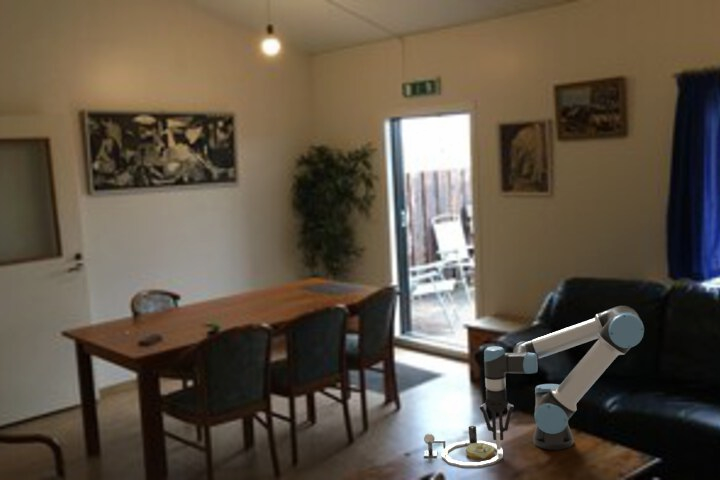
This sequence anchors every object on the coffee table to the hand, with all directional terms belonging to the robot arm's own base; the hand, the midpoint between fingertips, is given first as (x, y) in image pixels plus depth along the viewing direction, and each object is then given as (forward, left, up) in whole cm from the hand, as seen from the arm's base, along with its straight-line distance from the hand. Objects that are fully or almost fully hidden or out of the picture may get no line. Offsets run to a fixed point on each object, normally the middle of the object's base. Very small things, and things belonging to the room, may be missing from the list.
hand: (498, 447), depth 279 cm
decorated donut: (+7, 0, -3) cm, 8 cm away
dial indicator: (+24, 0, -3) cm, 25 cm away
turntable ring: (+10, 0, -3) cm, 10 cm away
